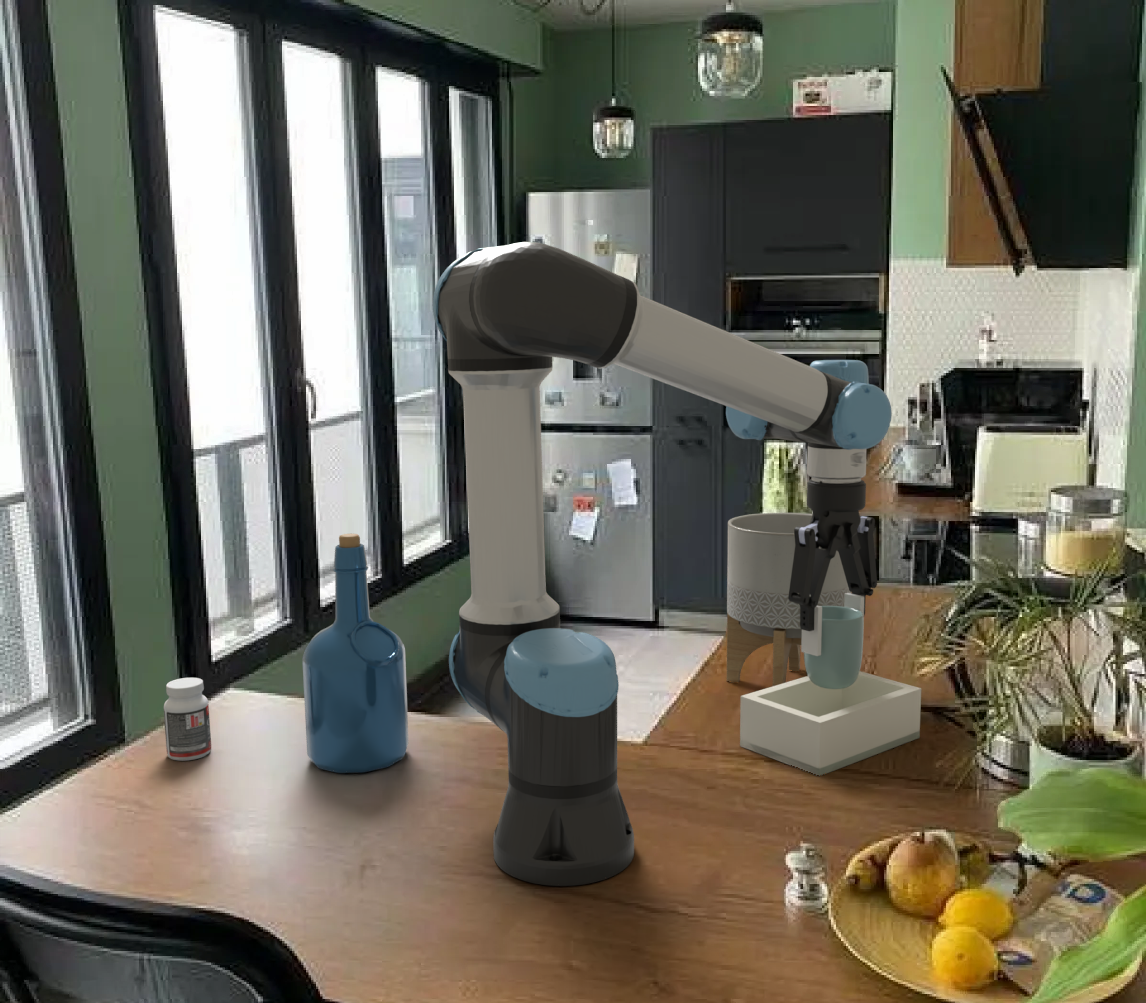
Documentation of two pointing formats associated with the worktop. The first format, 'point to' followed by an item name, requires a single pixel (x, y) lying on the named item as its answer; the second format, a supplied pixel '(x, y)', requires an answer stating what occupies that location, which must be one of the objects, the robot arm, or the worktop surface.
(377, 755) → the wine bottle
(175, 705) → the pill bottle
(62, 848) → the worktop surface
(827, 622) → the cup
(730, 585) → the planter
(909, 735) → the open box
